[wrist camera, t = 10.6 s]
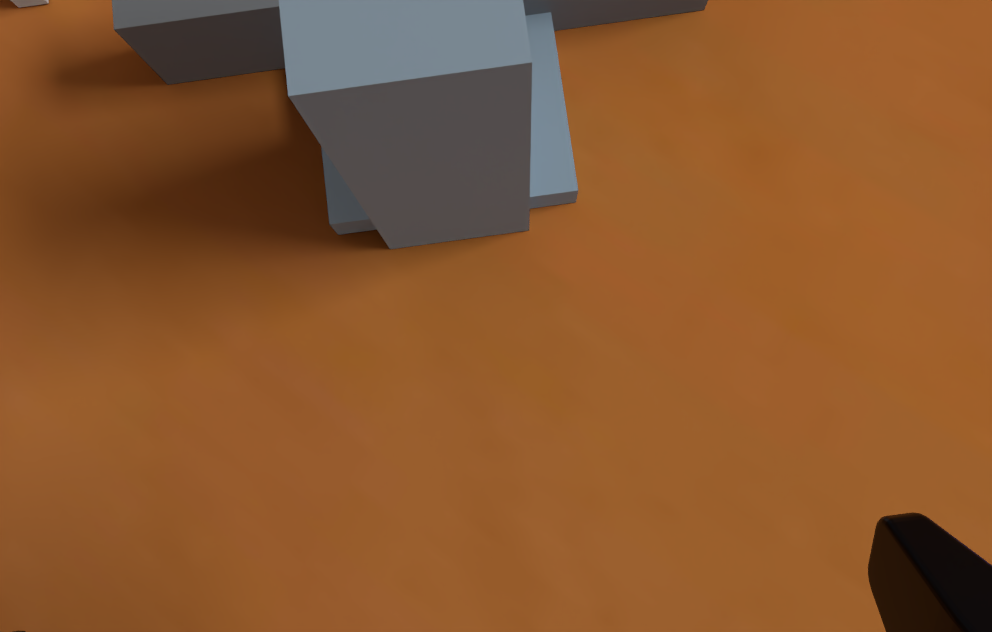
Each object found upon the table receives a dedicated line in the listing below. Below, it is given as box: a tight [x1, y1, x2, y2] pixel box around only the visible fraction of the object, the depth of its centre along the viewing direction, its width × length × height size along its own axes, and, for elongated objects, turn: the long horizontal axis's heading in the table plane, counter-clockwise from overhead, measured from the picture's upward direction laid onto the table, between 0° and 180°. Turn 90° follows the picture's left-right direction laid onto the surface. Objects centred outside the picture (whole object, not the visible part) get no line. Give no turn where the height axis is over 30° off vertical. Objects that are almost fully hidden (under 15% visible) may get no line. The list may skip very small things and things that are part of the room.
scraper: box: [112, 0, 708, 249], centre depth 18 cm, size 6×14×10 cm, turn 98°
